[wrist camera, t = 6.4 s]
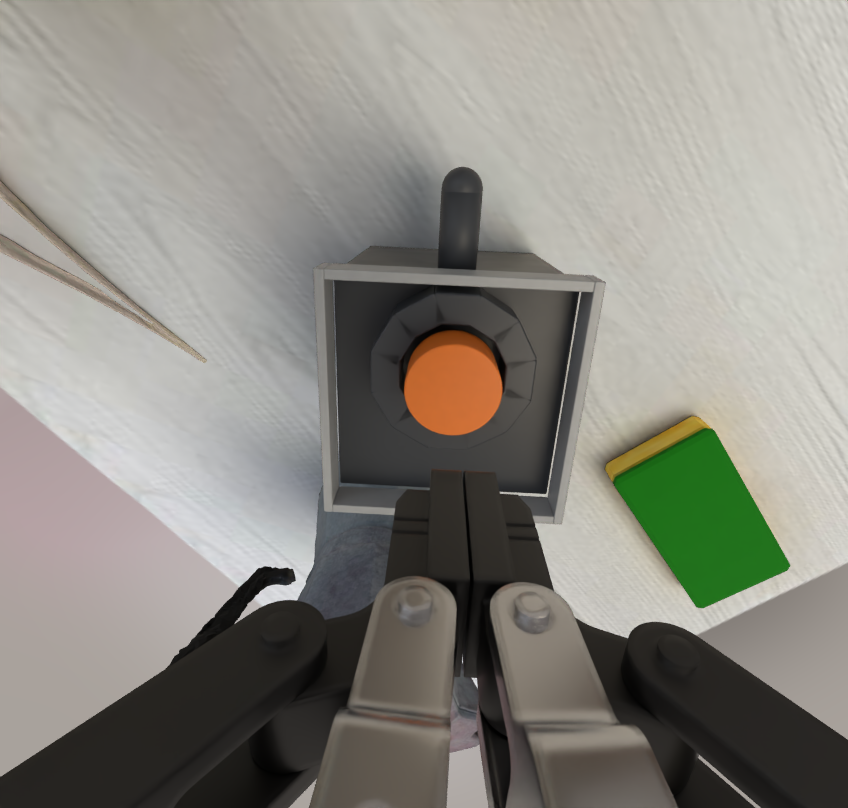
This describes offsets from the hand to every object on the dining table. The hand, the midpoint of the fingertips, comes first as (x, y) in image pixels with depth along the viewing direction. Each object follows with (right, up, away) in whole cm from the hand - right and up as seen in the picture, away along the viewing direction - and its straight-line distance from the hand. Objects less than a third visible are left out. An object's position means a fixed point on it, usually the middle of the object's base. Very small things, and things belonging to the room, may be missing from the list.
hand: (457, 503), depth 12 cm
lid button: (0, +4, +8) cm, 9 cm away
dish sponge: (+19, -5, +25) cm, 32 cm away
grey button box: (+1, +7, +20) cm, 22 cm away
